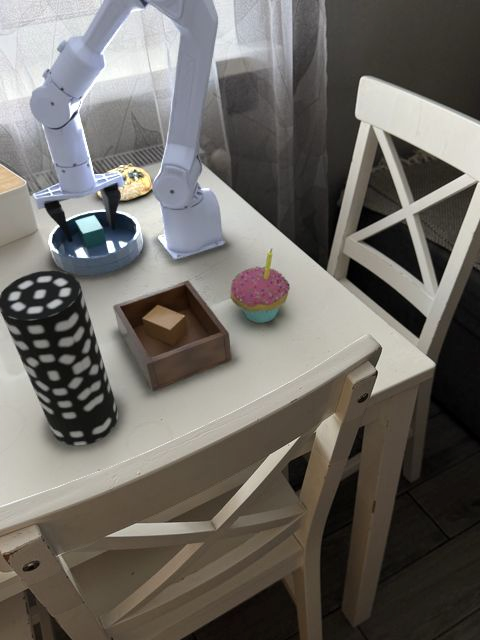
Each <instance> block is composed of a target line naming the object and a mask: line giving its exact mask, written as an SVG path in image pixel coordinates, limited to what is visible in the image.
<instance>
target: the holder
mask: <svg viewBox="0 0 480 640" xmlns="http://www.w3.org/2000/svg"><path fill="white" fill-rule="evenodd" d="M157 305H160V306H162V307H165V308H167V309H170V310H172V311H175V312H177V313H180V314H182V315H184V316H185V317H186V324H187V330H188V332H187V333H186V334H185V335H184V336H183V337H181V338H180V339H179V340H178V341H177V342H176V343H175V344H174V345H173V346H172V345H170V344H168V343H165V342H163V341H161V340H158V339H156V338H154V337H152V336H149V335H147V334H146V333H145V329H144V324H143V320H142V318H143V317H144V316H145V315H147V314H148V313H149V312H150V311H151V310H152V309H154V308H155V307H156V306H157ZM112 309H113V312H114V315H115V316H114V317H115V320H116V323H117V327H118V331H119V333H120V335H121V337H122V339H123V341H124V342H125V344H126V346H127V348H128V349H129V351H130V353H131V354H132V357H133V359H134V361H135V362H136V364H137V366H138V368H139V369H140V371H141V373H142V374H143V377H144V379H145V380H146V382H147V384H148V386H149V387H150V388H151V390H152V392H154V391H157V390H159V389H162V388H164V387H167V386H170V385H171V384H174V383H177V382H179V381H183V380H185V379H187V378H190V377H193V376H195V375H197V374H200V373H202V372H205V371H207V370H210V369H213V368H215V367H218V366H220V365H223V364H225V363H228V362H231V361H232V351H231V341H230V333H229V331H228V330H227V328H226V327H225V326H224V324H223V323H222V322H221V321H220V320H219V318H218V317H217V316H216V314H215V313H214V311H213V310H212V308H210V306H209V305H208V303H206V301H205V299H203V298H202V296H201V295H200V293H199V292H198V291H197V289H196V288H195V287H194V286H193V284H192V283H191V282H190V280H189V279H187V280H184V281H182V282H179V283H176V284H173V285H170V286H167V287H164V288H161V289H158V290H156V291H152V292H150V293H146V294H143V295H141V296H137V297H135V298H132V299H131V298H130V299H128V300H125V301H123V302H120V303H116V304H114V305H112Z"/></svg>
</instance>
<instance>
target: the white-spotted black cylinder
mask: <svg viewBox="0 0 480 640" xmlns="http://www.w3.org/2000/svg"><path fill="white" fill-rule="evenodd" d="M0 314H1V316H2V319H3V321H4V323H5V325H6V327H7V331H8V332H9V335H10V337H11V339H12V342H13V344H14V346H15V348H16V349H15V350H16V351H17V353H18V356H19V358H20V360H21V363H22V365H23V367H24V370H25V372H26V374H27V377H28V379H29V381H30V384H31V386H32V388H33V390H34V392H35V395H36V397H37V399H38V403H39V405H40V407H41V409H42V412H43V414H44V416H45V418H46V421H47V424H48V425H49V428H50V430H51V432H52V435H54V436H53V437H55V438H56V439H57V440H58V441H60V442H61V443H63V444H66V445H70V446H85V445H90V444H93V443H96V442H97V441H99V440H101V439H103V438H104V437H106V436H107V435H108V434H110V432H111V431H112V430H113V429H114V428H115V427H116V424H117V422H118V419H119V410H118V406H117V402H116V399H115V396H114V392H113V390H112V386H111V382H110V380H109V376H108V373H107V370H106V366H105V363H104V359H103V356H102V353H101V350H100V346H99V343H98V339H97V336H96V333H95V329H94V326H93V323H92V320H91V316H90V313H89V309H88V306H87V302H86V299H85V297H84V293H83V289H82V286H81V283H80V281H79V280H78V278H77V277H76V276H74V274H72V273H69V272H66V271H63V270H41V271H36V272H32V273H29V274H26V275H22V276H21V277H19V278H17V279H15V280H14V281H12V282H11V283H9V284H8V285H7V286H6V287H5V288H4V289H3V290H2V291H1V292H0Z"/></svg>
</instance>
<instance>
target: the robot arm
mask: <svg viewBox="0 0 480 640" xmlns="http://www.w3.org/2000/svg"><path fill="white" fill-rule="evenodd" d="M149 5H150V6H151V7H152V8H154V9H155V10H156V11H158V12H159V13H161V14H162V15H164V16H165V17H166V18H167V19H168V20H169V21H170V22H171V23H172V25H173V26H174V28H175V29H176V30H177V31H178V33H179V41H178V49H177V57H176V65H175V71H174V72H175V73H174V74H175V75H174V81H173V87H172V88H173V89H172V97H171V103H170V104H171V106H170V114H169V122H168V129H167V136H166V137H167V138H166V145H165V148H164V152H163V156H162V159H161V166H160V169H159V172H158V174H157V175H156V176H155V178H154V180H153V182H152V193H153V196H154V198H155V199H156V200H157V202H158V204H159V208H160V214H161V220H162V226H163V232H164V233H163V234H161V235H158V236H157V240H158V241H159V242H160V244H161V245H162V246H163V247H164V249H165V250H166V251H167V253H168V254H169V255H170V256H171V258H172V260H175V261H177V260H180V259H183V258H186V257H189V256H193V255H196V254H200V253H202V252H205V251H208V250H211V249H215V248H218V247H221V246H224V245H225V244H226V241H225V240H224V239H223V227H222V225H223V224H222V215H221V208H220V204H219V200H218V198H217V196H216V194H215V193H214V191H213V189H211V188H208V187H207V188H202V187H201V185H200V184H199V182H198V180H199V178H200V176H201V174H202V173H203V163H202V160H201V157H200V150H201V148H200V147H201V143H200V137H201V131H202V124H203V119H204V112H205V107H206V102H207V101H206V100H207V95H208V90H209V89H208V88H209V82H210V77H211V70H212V64H213V59H214V51H215V46H216V39H217V33H218V28H219V15H218V12H217V9H216V6H215V3H214V0H102V3H101V4H100V7H99V8H98V10H97V12H96V13H95V15H94V17H93V18H92V20H91V22H90V23H89V25H88V27H87V29H86V31H85V33H84V34H83V35H78V36H77V35H76V36H75V35H73V36H71V37H69V38H68V39H67V40H66V39H63V40H62V41H61V42H59V45H58V47H56V51H57V52H58V53H59V54H58V56H57V58H56V59H55V60H54V63H53V64H52V65H51V67H50V69H49V68H46V69H45V70H44V71H43V72H42V75H41V76H42V78H43V79H44V81H43V82H42V83H41V84H40V85H39V86H37V87H36V88H34V89H33V90H32V92H31V95H30V98H29V108H30V111H31V114H32V116H33V118H34V119H35V120H36V121H37V122H38V123H40V124H41V125H42V129H43V132H44V135H45V136H44V137H45V139H46V143H47V146H48V150H49V154H50V156H51V160H52V163H53V167H54V170H55V174H56V177H57V181H58V183H56V184H54V185H51V186H49V187H46V188H45V189H43V190H40V191H37V192H34V193H32V197H33V200H34V203H35V206H36V207H37V210H42V209H45V211H46V213H47V214H48V215H49V217H50V218H51V219H52V220H53V221H54V223H56V224H57V225H59V226H60V228H61V229H62V230H63V232H64V234H65V236H66V238H67V240H68V242H72V241H73V240H72V236H71V234H70V231H69V229H68V226H67V222H66V219H67V217H66V214H65V211H64V209H63V206H62V204H61V203H60V202H65V201H67V200H72V199H79V198H86V197H89V196H91V195H92V194H95V193H97V192H98V191H100V192H101V196H102V198H101V199H102V203H103V207H104V210H105V212H106V217H107V221H108V225H109V226H110V228H111V229H112V230H113V229H116V227H115V220H116V212H117V211H118V207H119V204H120V202H121V201H120V199H121V192H120V191H119V189H118V188H120V187H124V182H123V177H122V175H121V174H120V173H119V172H114V173H107V174H105V173H98V174H97V173H96V174H95V173H94V169H93V164H92V160H91V156H90V152H89V148H88V144H87V140H86V135H85V132H84V127H83V123H82V120H81V116H80V109H81V107H82V104H83V100H84V99H85V98H86V97H87V95H88V94H89V92H90V90H91V89H92V88H93V86H94V85H95V83H96V81H98V79H99V77H100V76H101V75H102V73H103V71H104V70H105V69H106V66H107V65H106V63H107V62H106V58H105V53H104V52H105V50H106V49H107V47H108V46H109V45H110V43H111V41H112V40H113V39H114V37H115V36H116V34H117V33H118V32H119V31H120V29H121V28H122V27H123V25H124V24H125V22H126V21H127V19H128V18H129V17H130V15H131V14H132V12H136V11H137V12H138V11H142V10H145V9H146V8H147V7H148V6H149Z"/></svg>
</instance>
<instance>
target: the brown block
mask: <svg viewBox="0 0 480 640" xmlns="http://www.w3.org/2000/svg"><path fill="white" fill-rule="evenodd" d="M142 320H143V324H144V329H145V333H146V334H147V335H149V336H152V337H154V338H156V339H158V340H161V341H163V342H165V343H168V344H170V345H172V346H173V345H174V344H175V343H176V342H177V341H178V340H179V339H180V338H181V337H183V336H184V335H185V334H186V333H187V332H188V330H187V324H186V317H185V316H184V315H182V314H180V313H177V312H175V311H172V310H170V309H167V308H165V307H162V306H160V305H157V306H156V307H155V308H154V309H152V310H151V311H150V312H149V313H148V314H147V315H145V316H144V317H143V318H142Z"/></svg>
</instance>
